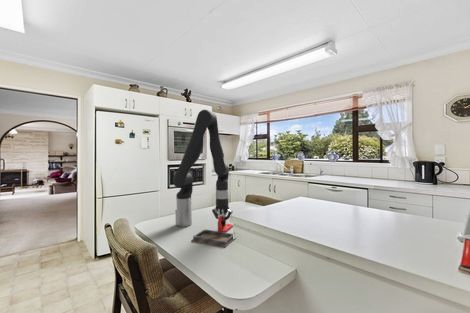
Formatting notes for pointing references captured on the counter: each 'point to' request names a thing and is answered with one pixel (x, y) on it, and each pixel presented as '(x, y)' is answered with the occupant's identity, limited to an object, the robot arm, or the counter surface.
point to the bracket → (226, 227)
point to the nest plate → (213, 238)
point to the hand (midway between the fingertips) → (222, 226)
